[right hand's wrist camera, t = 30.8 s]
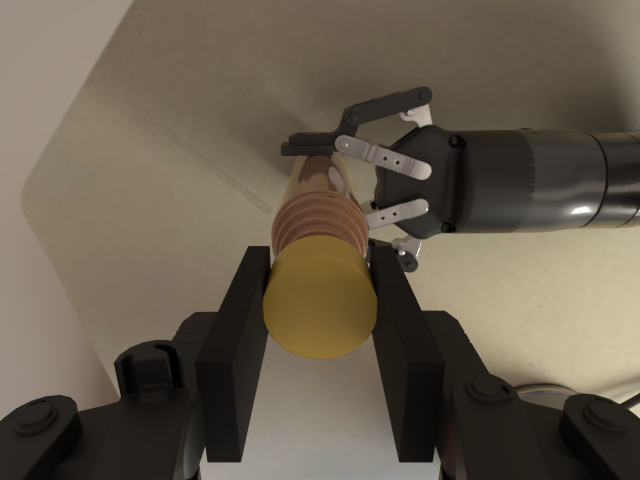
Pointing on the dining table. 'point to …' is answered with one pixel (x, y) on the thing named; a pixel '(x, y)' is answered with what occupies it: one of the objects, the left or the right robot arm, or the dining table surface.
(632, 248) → the dining table surface
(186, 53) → the dining table surface
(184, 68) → the dining table surface
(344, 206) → the bottle
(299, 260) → the cap
